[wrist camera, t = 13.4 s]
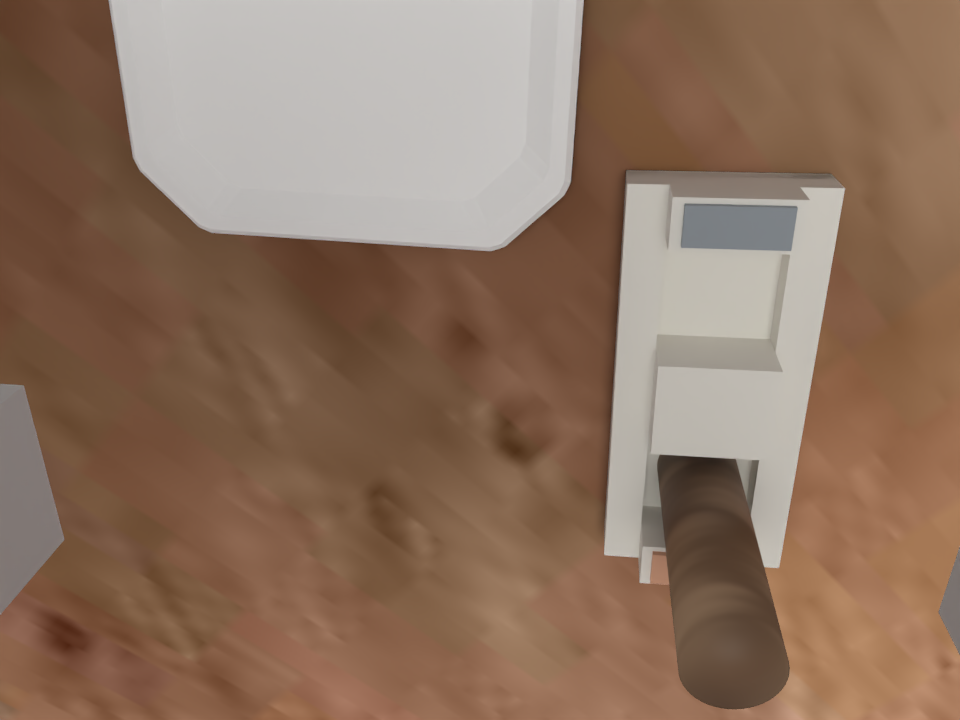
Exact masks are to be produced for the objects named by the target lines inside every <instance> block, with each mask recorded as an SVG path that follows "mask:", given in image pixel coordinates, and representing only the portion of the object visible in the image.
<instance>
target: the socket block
mask: <svg viewBox="0 0 960 720" xmlns="http://www.w3.org/2000/svg"><path fill="white" fill-rule="evenodd" d="M844 191H845V188H844V187H843V186H842V185H841V184H840V183H839V181H838V180H837V179H836V178H835V177H834V176H833V175H832V174H812V173H758V172H704V171H650V170H626V181H625V197H624V213H623V230H622V246H621V263H620V279H619V295H618V312H617V328H616V345H615V361H614V377H613V394H612V410H611V427H610V443H609V459H608V476H607V492H606V509H605V525H604V555H610V556H623V557H637V558H638V559H639V580H640V583H650V584H663V585H669V577H668V567H667V558H666V548H665V539H664V529H663V520H662V510H661V501H660V491H659V481H658V472H657V462H658V458H659V455H660V454H661V455H678V456H695V457H712V458H729V459H736V461H737V465H738V469H739V473H740V477H741V480H742V484H743V488H744V492H745V496H746V500H747V503H748V507H749V511H750V515H751V519H752V523H753V527H754V530H755V534H756V538H757V542H758V546H759V550H760V553H761V557H762V561H763V565H764V567H771V568H779V565H780V559H781V554H782V548H783V542H784V536H785V530H786V525H787V519H788V513H789V507H790V502H791V496H792V490H793V484H794V479H795V473H796V467H797V461H798V456H799V450H800V444H801V438H802V433H803V427H804V421H805V415H806V410H807V404H808V398H809V392H810V387H811V381H812V375H813V369H814V364H815V358H816V352H817V346H818V341H819V335H820V329H821V323H822V318H823V312H824V306H825V300H826V295H827V289H828V283H829V277H830V272H831V266H832V260H833V254H834V249H835V243H836V237H837V231H838V226H839V220H840V214H841V208H842V203H843V197H844Z"/></svg>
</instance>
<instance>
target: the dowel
mask: <svg viewBox="0 0 960 720" xmlns="http://www.w3.org/2000/svg"><path fill="white" fill-rule="evenodd" d="M657 472H658V481H659V491H660V501H661V510H662V520H663V529H664V539H665V548H666V558H667V567H668V577H669V586H670V596H671V606H672V615H673V625H674V634H675V644H676V653H677V663H678V672H679V677H680V680H681V682H682V684H683V686H684V687H685V688H686V690H687V691H688V692H689V693H690V694H691V695H692V696H694V697H695V698H696V699H698V700H700V701H701V702H704V703H706V704H708V705H711V706H714V707H719V708H724V709H744V708H750V707H754V706H757V705H760V704H763V703H765V702H767V701H769V700H770V699H772V698H773V697H774V696H776V695H777V694H778V693H779V692H780V691H781V690H782V689H783V687H784V686H785V684H786V682H787V680H788V677H789V670H790V667H789V661H788V657H787V653H786V649H785V646H784V642H783V638H782V634H781V630H780V626H779V623H778V619H777V615H776V611H775V607H774V603H773V599H772V596H771V592H770V588H769V584H768V580H767V576H766V573H765V569H764V565H763V561H762V557H761V553H760V550H759V546H758V542H757V538H756V534H755V530H754V527H753V523H752V519H751V515H750V511H749V507H748V503H747V500H746V496H745V492H744V488H743V484H742V480H741V477H740V473H739V469H738V465H737V461H736V459H729V458H712V457H695V456H678V455H661V454H660V455H659V458H658V462H657Z"/></svg>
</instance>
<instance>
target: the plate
mask: <svg viewBox="0 0 960 720" xmlns="http://www.w3.org/2000/svg"><path fill="white" fill-rule="evenodd" d="M109 6H110V13H111V19H112V26H113V32H114V39H115V45H116V52H117V58H118V65H119V71H120V77H121V84H122V90H123V97H124V103H125V110H126V116H127V123H128V129H129V136H130V142H131V149H132V155H133V159H134V161H135V163H136V164H137V166H138V168H139V170H140V171H141V172H142V173H143V174H144V175H145V176H146V177H147V178H148V179H149V180H150V181H151V182H152V183H153V184H154V185H155V186H156V187H157V188H158V189H159V190H160V191H161V192H163V193H164V194H165V195H166V196H167V197H168V198H169V199H170V200H171V201H172V202H173V203H174V204H175V205H176V206H177V207H178V208H179V209H180V210H181V211H182V212H183V213H185V214H186V215H187V216H188V217H189V218H190V219H191V220H192V221H193V222H194V223H195V224H196V225H197V226H198V227H200V228H202V229H204V230H206V231H209V232H211V233H222V234H237V235H252V236H268V237H283V238H298V239H313V240H328V241H344V242H359V243H374V244H389V245H404V246H419V247H435V248H450V249H465V250H480V251H494V250H497V249H500V248H503V247H505V246H507V245H508V244H509V243H510V242H511V241H512V240H513V239H515V238H516V237H517V236H518V235H519V234H520V233H522V232H523V231H524V230H525V229H526V228H527V227H528V226H530V225H531V224H532V223H533V222H534V221H535V220H537V219H538V218H539V217H540V216H541V215H542V214H544V213H545V212H546V211H547V210H548V209H549V208H550V207H552V206H553V205H554V204H555V203H556V202H557V201H559V200H560V199H561V198H562V197H563V196H564V195H565V193H566V191H567V189H568V187H569V185H570V183H571V178H572V163H573V149H574V135H575V121H576V107H577V93H578V78H579V64H580V50H581V36H582V22H583V8H584V0H109Z"/></svg>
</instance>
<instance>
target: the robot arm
mask: <svg viewBox="0 0 960 720" xmlns="http://www.w3.org/2000/svg"><path fill="white" fill-rule="evenodd" d="M63 541H64V536H63V533H62V529H61V525H60V521H59V517H58V514H57V510H56V506H55V502H54V499H53V495H52V491H51V487H50V483H49V480H48V476H47V472H46V468H45V464H44V461H43V457H42V453H41V449H40V446H39V442H38V438H37V434H36V430H35V427H34V423H33V419H32V415H31V412H30V408H29V404H28V400H27V396H26V393H25V389H24V385H9V384H0V614H1V613H2V612H3V611H4V610H5V608H6V607H7V606H8V605H9V604H10V603H11V601H12V600H13V599H14V598H15V597H16V596H17V594H18V593H19V592H20V591H21V590H22V589H23V587H24V586H25V585H26V584H27V583H28V582H29V580H30V579H31V578H32V577H33V576H34V575H35V573H36V572H37V571H38V570H39V569H40V568H41V566H42V565H43V564H44V563H45V562H46V561H47V559H48V558H49V557H50V556H51V555H52V554H53V552H54V551H55V550H56V549H57V548H58V546H59V545H60V544H61V543H62V542H63ZM939 614H940V616H941V618H942V620H943V622H944V624H945V626H946V628H947V630H948V632H949V634H950V636H951V638H952V640H953V642H954V644H955V646H956V648H957V650H958V652H959V654H960V548H959V551H958V554H957V557H956V560H955V563H954V566H953V569H952V572H951V575H950V578H949V581H948V585H947V588H946V591H945V594H944V597H943V600H942V603H941V606H940V609H939Z"/></svg>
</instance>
